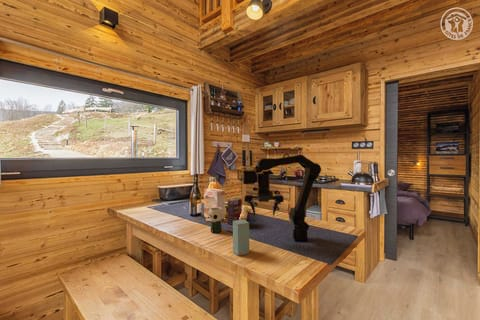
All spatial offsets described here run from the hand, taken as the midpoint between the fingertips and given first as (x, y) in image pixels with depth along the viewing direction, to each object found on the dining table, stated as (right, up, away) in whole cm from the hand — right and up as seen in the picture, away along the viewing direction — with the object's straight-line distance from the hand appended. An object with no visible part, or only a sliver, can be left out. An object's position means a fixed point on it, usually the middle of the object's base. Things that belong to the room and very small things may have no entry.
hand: (264, 215), depth 110 cm
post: (-11, -14, -11) cm, 21 cm away
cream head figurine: (-25, -13, +15) cm, 32 cm away
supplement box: (-15, -13, +26) cm, 33 cm away
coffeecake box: (-29, -13, +42) cm, 53 cm away
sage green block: (-11, -13, -11) cm, 21 cm away
